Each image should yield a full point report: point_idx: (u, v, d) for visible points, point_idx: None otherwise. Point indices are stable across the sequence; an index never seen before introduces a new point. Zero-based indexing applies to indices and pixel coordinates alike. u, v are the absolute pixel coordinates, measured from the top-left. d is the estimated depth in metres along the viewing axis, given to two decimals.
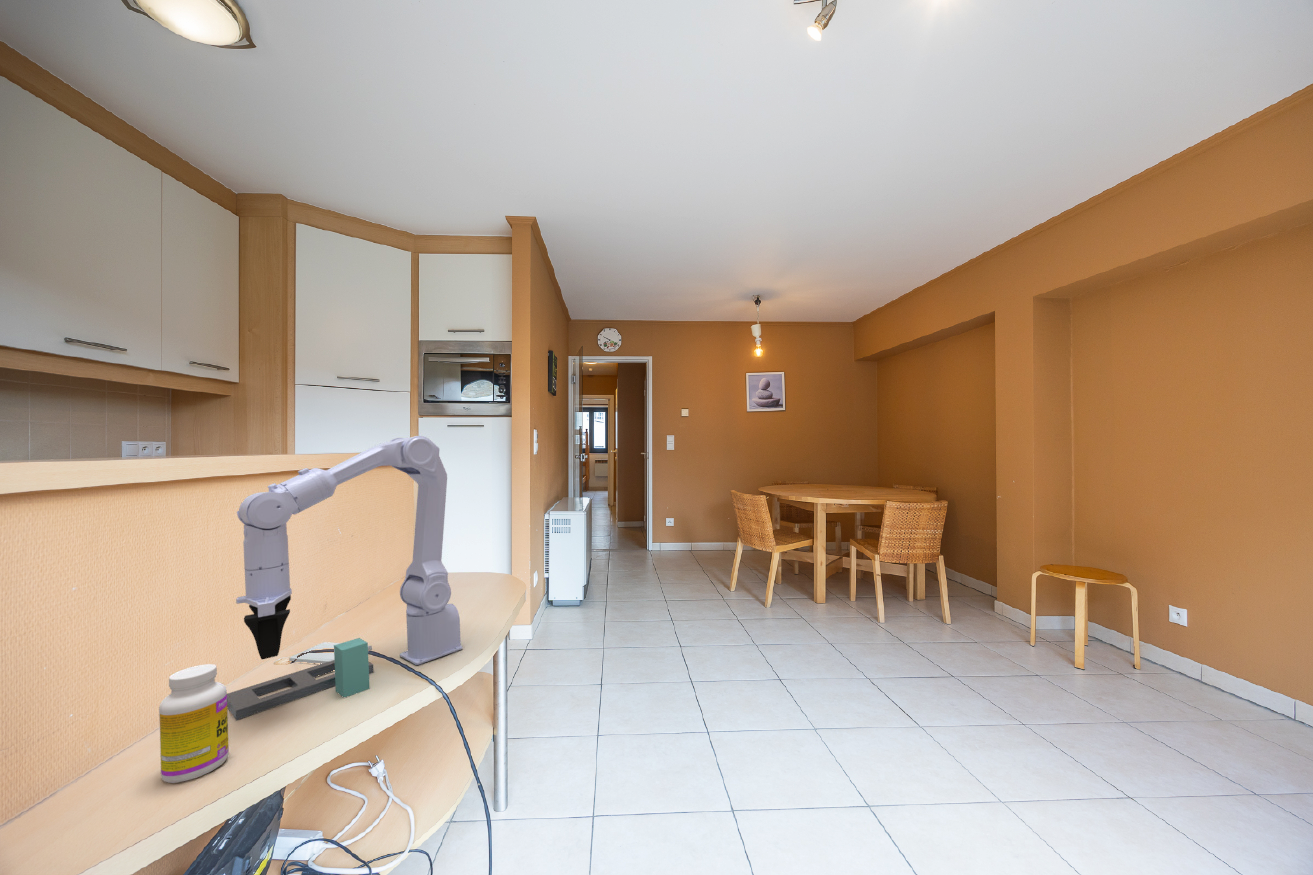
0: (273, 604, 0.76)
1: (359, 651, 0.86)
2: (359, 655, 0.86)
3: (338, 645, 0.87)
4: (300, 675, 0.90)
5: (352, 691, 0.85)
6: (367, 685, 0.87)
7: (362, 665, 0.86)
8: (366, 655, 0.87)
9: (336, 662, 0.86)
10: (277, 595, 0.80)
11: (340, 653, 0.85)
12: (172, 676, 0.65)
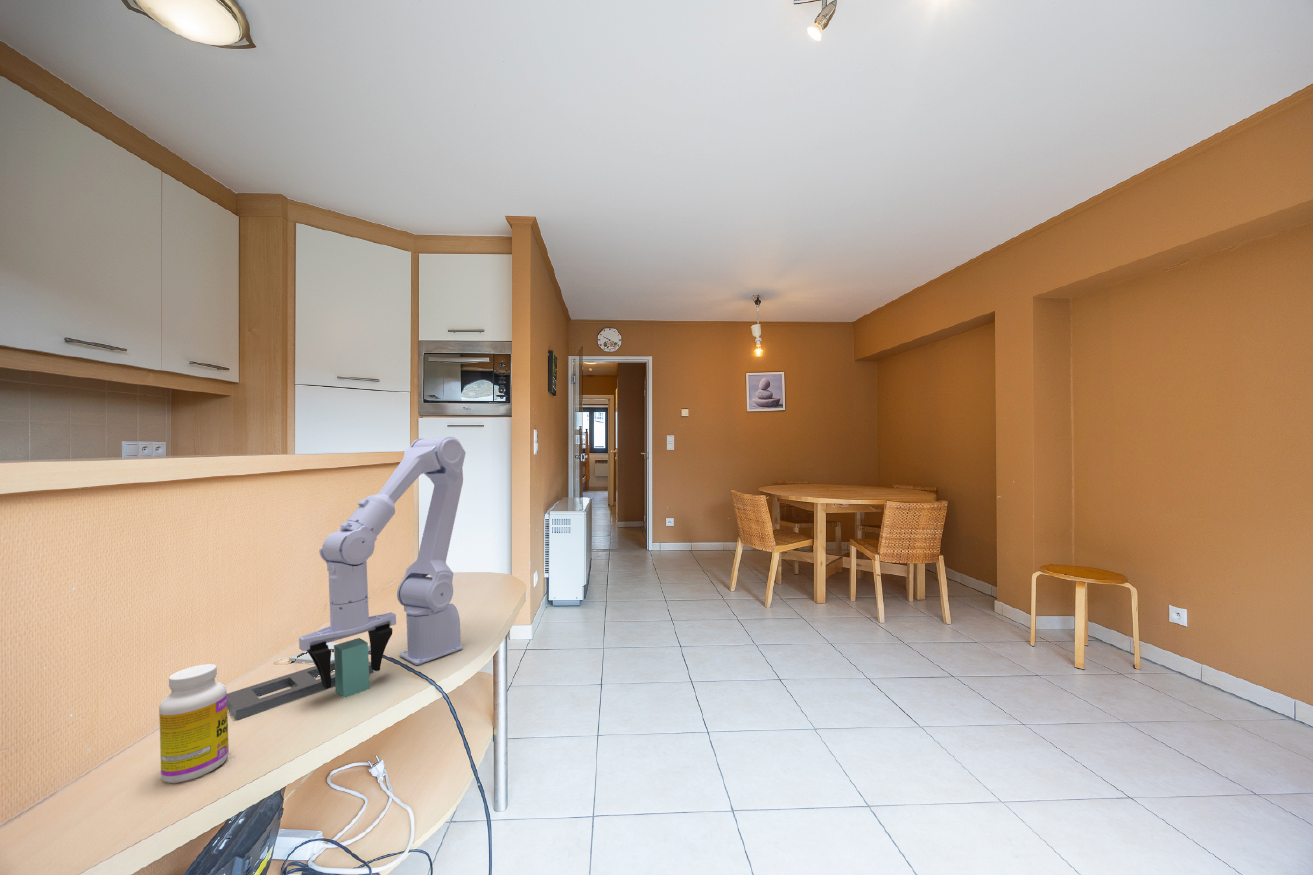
0: (302, 641, 0.81)
1: (359, 651, 0.86)
2: (359, 655, 0.86)
3: (338, 645, 0.87)
4: (300, 675, 0.90)
5: (352, 691, 0.85)
6: (367, 685, 0.87)
7: (362, 665, 0.86)
8: (366, 655, 0.87)
9: (336, 662, 0.86)
10: (334, 631, 0.84)
11: (340, 653, 0.85)
12: (172, 676, 0.65)
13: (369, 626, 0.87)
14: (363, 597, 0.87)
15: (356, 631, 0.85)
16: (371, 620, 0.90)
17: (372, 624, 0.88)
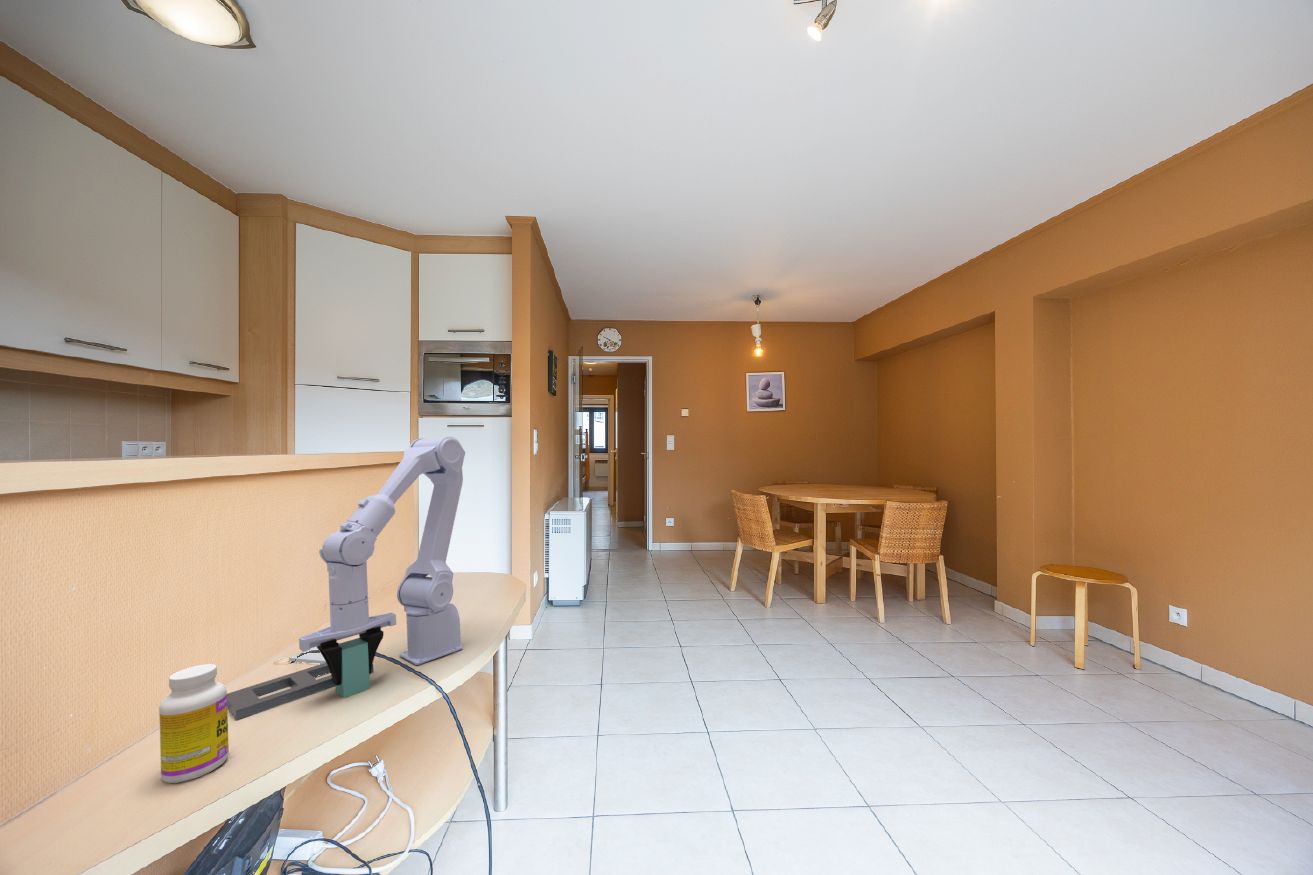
0: (302, 642, 0.81)
1: (359, 651, 0.86)
2: (359, 655, 0.86)
3: None
4: (300, 675, 0.90)
5: (352, 691, 0.85)
6: (367, 685, 0.87)
7: (362, 665, 0.86)
8: (366, 655, 0.87)
9: None
10: (335, 632, 0.84)
11: None
12: (172, 676, 0.65)
13: (369, 626, 0.87)
14: (363, 597, 0.87)
15: (356, 631, 0.85)
16: (371, 620, 0.90)
17: (372, 624, 0.88)
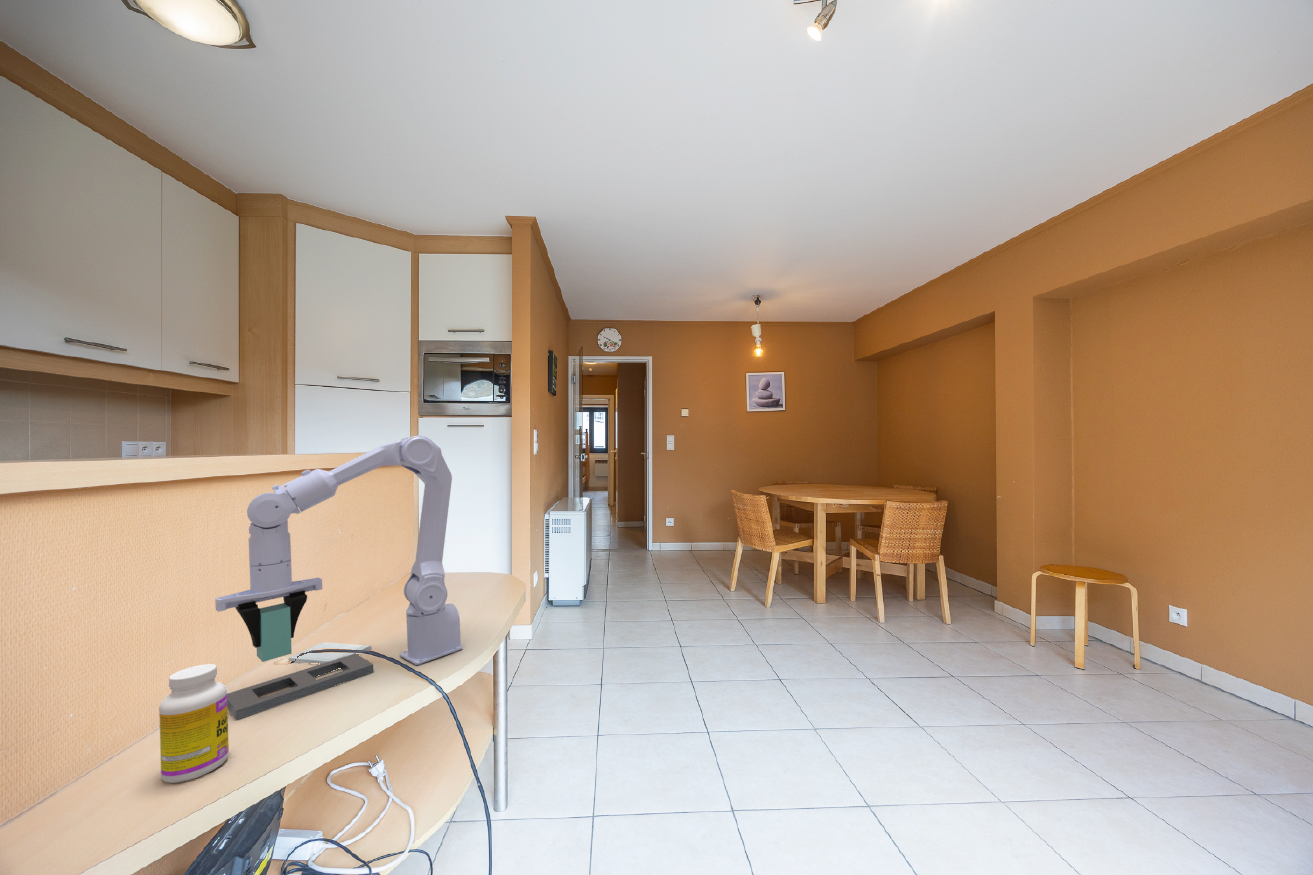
0: (217, 602, 0.80)
1: (280, 616, 0.85)
2: (280, 620, 0.85)
3: None
4: (300, 675, 0.90)
5: (272, 655, 0.84)
6: (289, 650, 0.86)
7: (284, 630, 0.85)
8: (288, 620, 0.86)
9: None
10: (253, 593, 0.83)
11: None
12: (172, 676, 0.65)
13: (291, 589, 0.86)
14: (276, 561, 0.85)
15: (276, 593, 0.84)
16: (295, 584, 0.89)
17: (294, 587, 0.87)
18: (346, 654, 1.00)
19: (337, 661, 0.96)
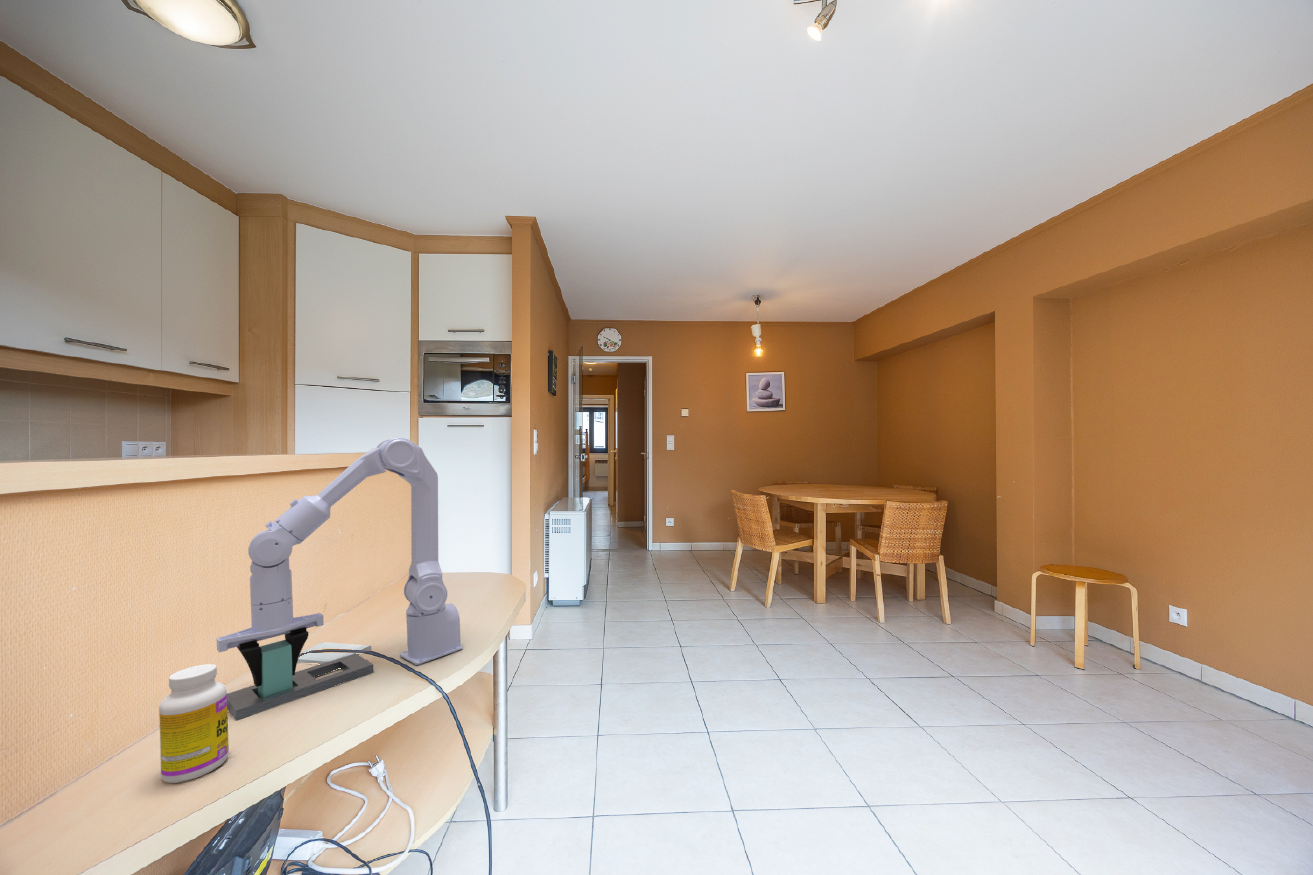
0: (219, 643, 0.80)
1: (281, 654, 0.85)
2: (282, 658, 0.85)
3: (261, 647, 0.85)
4: (300, 675, 0.90)
5: None
6: None
7: (285, 668, 0.85)
8: (289, 658, 0.86)
9: None
10: (254, 632, 0.83)
11: (261, 655, 0.84)
12: (172, 676, 0.65)
13: (292, 627, 0.86)
14: (277, 600, 0.85)
15: (277, 632, 0.84)
16: (296, 621, 0.89)
17: (296, 625, 0.87)
18: (346, 654, 1.00)
19: (337, 661, 0.96)
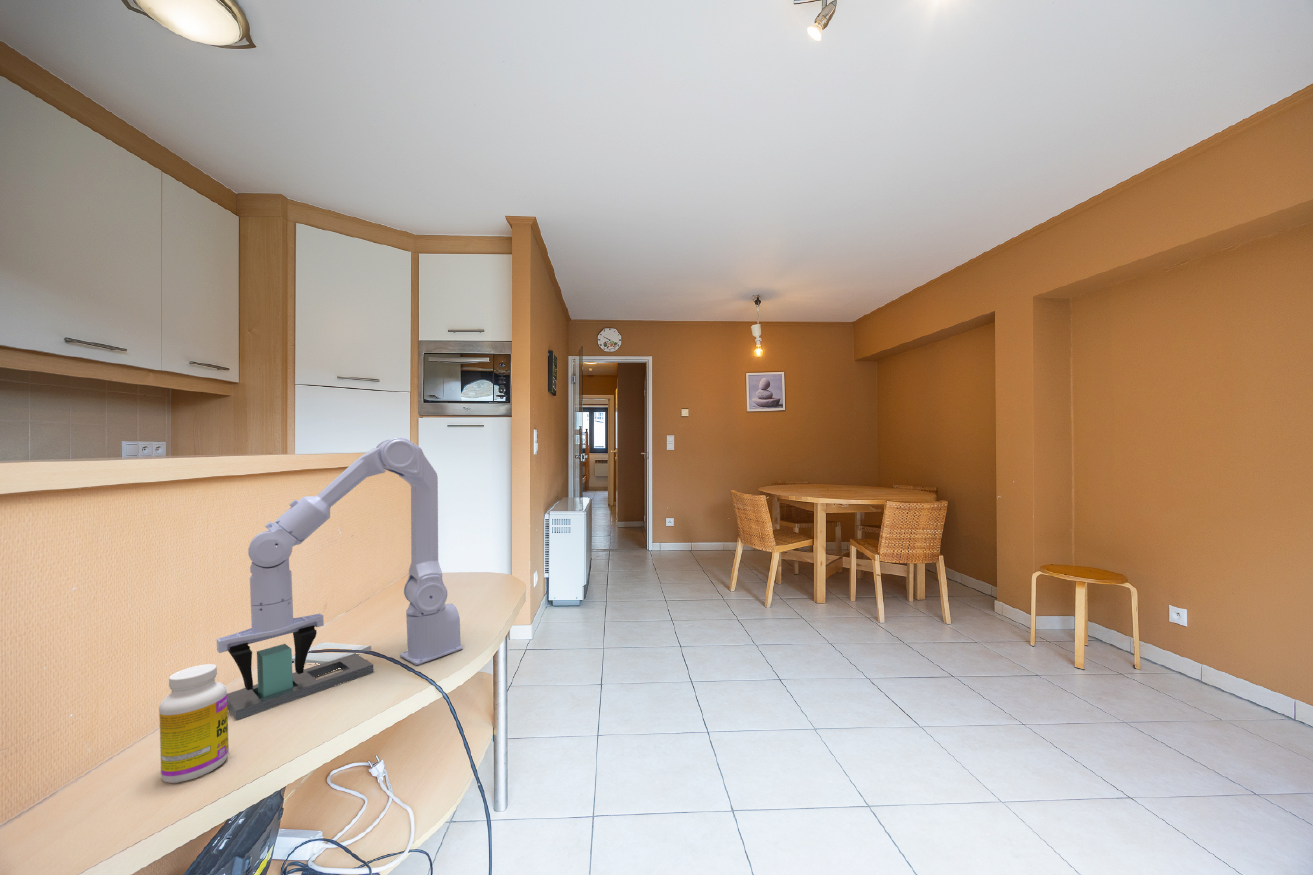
0: (219, 643, 0.80)
1: (281, 658, 0.85)
2: (282, 662, 0.85)
3: (261, 651, 0.85)
4: (300, 675, 0.90)
5: None
6: None
7: (285, 672, 0.85)
8: (290, 661, 0.86)
9: (258, 668, 0.85)
10: (254, 633, 0.83)
11: (261, 659, 0.84)
12: (172, 676, 0.65)
13: (292, 627, 0.86)
14: (277, 600, 0.84)
15: (277, 633, 0.84)
16: (296, 621, 0.89)
17: (296, 625, 0.87)
18: (346, 654, 1.00)
19: (337, 661, 0.96)
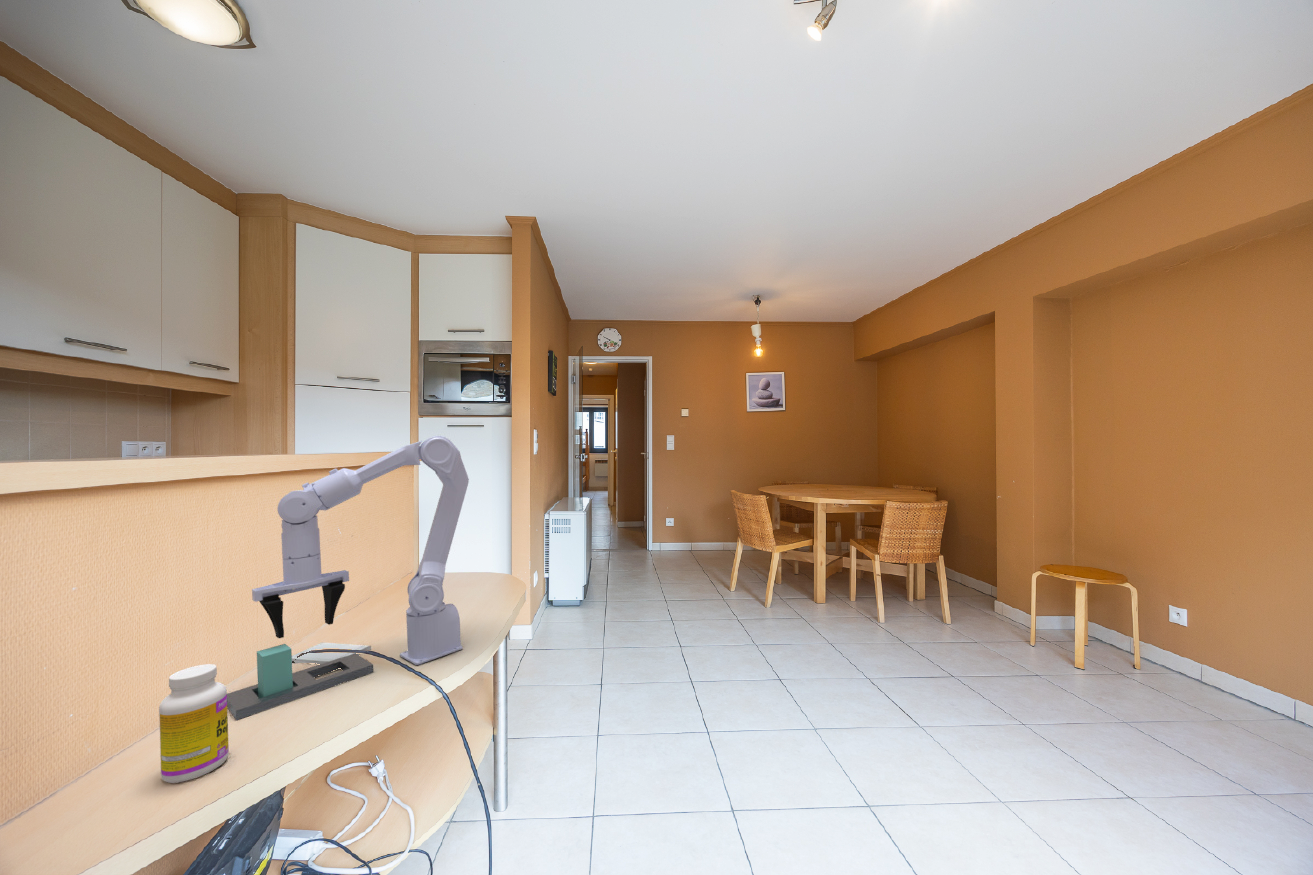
0: (255, 593, 0.86)
1: (281, 658, 0.85)
2: (282, 662, 0.85)
3: (261, 651, 0.85)
4: (300, 675, 0.90)
5: None
6: None
7: (285, 672, 0.85)
8: (289, 661, 0.86)
9: (258, 668, 0.85)
10: (287, 584, 0.89)
11: (261, 659, 0.84)
12: (172, 676, 0.65)
13: (321, 581, 0.92)
14: (304, 555, 0.90)
15: (308, 584, 0.90)
16: (324, 576, 0.94)
17: (324, 579, 0.92)
18: (346, 654, 1.00)
19: (337, 661, 0.96)
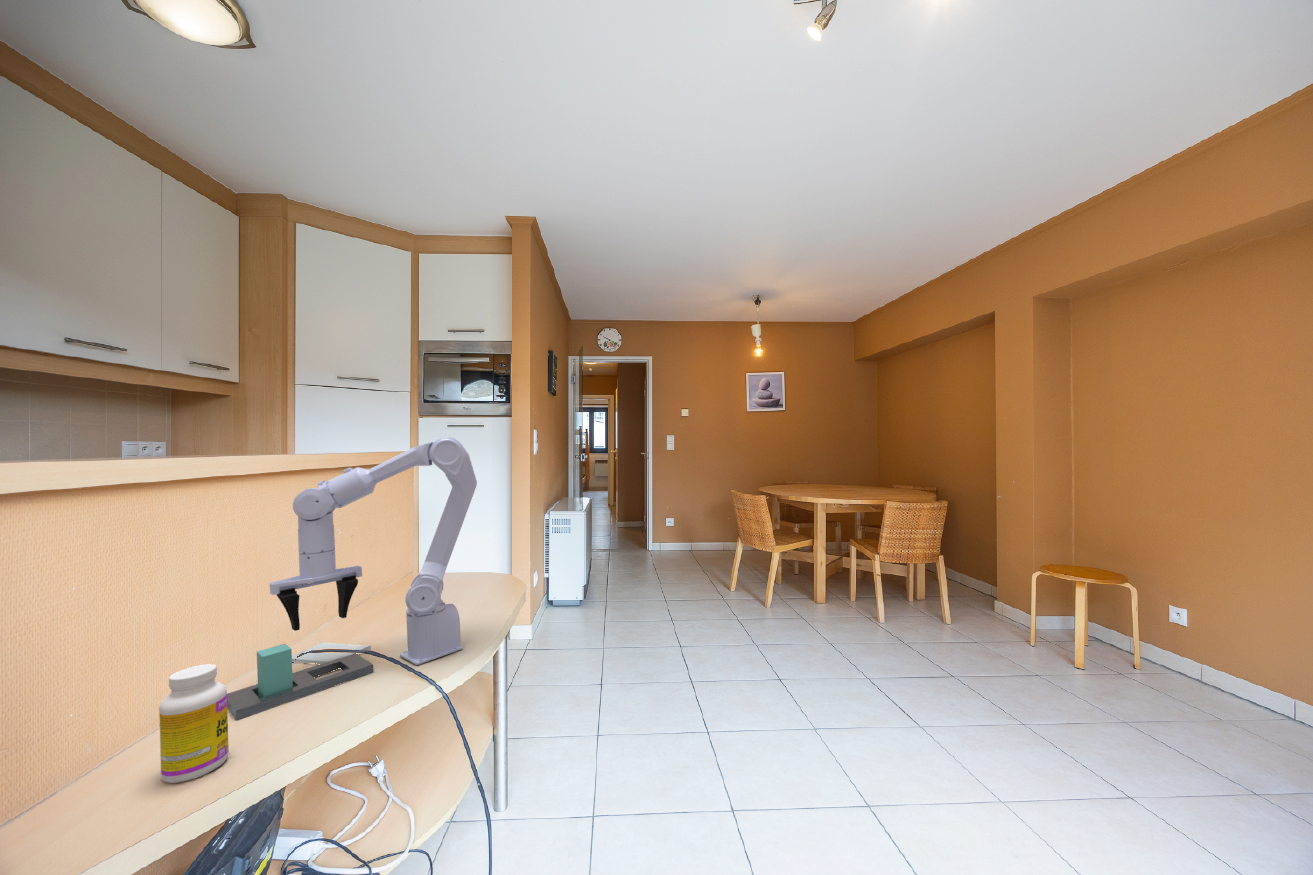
0: (272, 586, 0.89)
1: (281, 658, 0.85)
2: (282, 662, 0.85)
3: (261, 651, 0.85)
4: (300, 675, 0.90)
5: None
6: None
7: (285, 672, 0.85)
8: (289, 661, 0.86)
9: (258, 668, 0.85)
10: (303, 579, 0.92)
11: (261, 659, 0.84)
12: (172, 676, 0.65)
13: (335, 575, 0.95)
14: (317, 551, 0.93)
15: (323, 579, 0.93)
16: (338, 571, 0.97)
17: (338, 574, 0.96)
18: (345, 654, 1.00)
19: (337, 661, 0.96)
